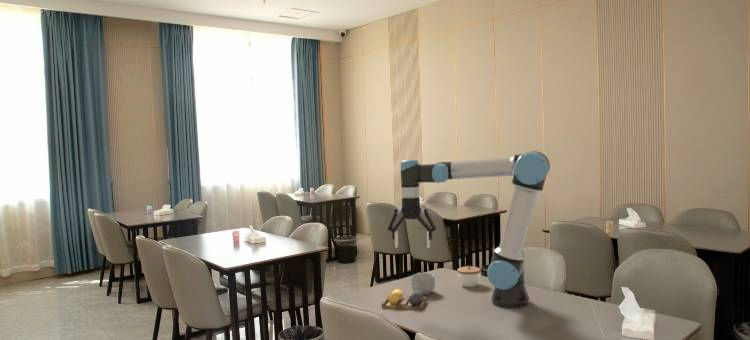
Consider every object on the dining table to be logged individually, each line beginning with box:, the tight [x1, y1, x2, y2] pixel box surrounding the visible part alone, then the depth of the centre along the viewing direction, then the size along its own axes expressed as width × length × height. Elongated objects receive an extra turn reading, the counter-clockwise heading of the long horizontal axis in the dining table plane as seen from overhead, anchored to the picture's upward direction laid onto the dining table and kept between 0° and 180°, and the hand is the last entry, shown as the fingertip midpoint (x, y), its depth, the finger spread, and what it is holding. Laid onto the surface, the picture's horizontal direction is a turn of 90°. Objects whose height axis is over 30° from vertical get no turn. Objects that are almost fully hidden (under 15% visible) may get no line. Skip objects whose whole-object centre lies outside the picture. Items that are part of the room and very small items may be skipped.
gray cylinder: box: [409, 290, 424, 306], centre depth 223 cm, size 8×4×4 cm, turn 163°
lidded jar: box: [457, 265, 482, 288], centre depth 249 cm, size 11×11×9 cm
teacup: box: [410, 272, 436, 296], centre depth 241 cm, size 14×11×8 cm
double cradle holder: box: [381, 295, 427, 311], centre depth 224 cm, size 17×11×2 cm, turn 75°
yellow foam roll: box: [388, 288, 404, 305], centre depth 225 cm, size 8×4×4 cm, turn 163°
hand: (412, 247), depth 221 cm, fingers open, 13 cm apart
